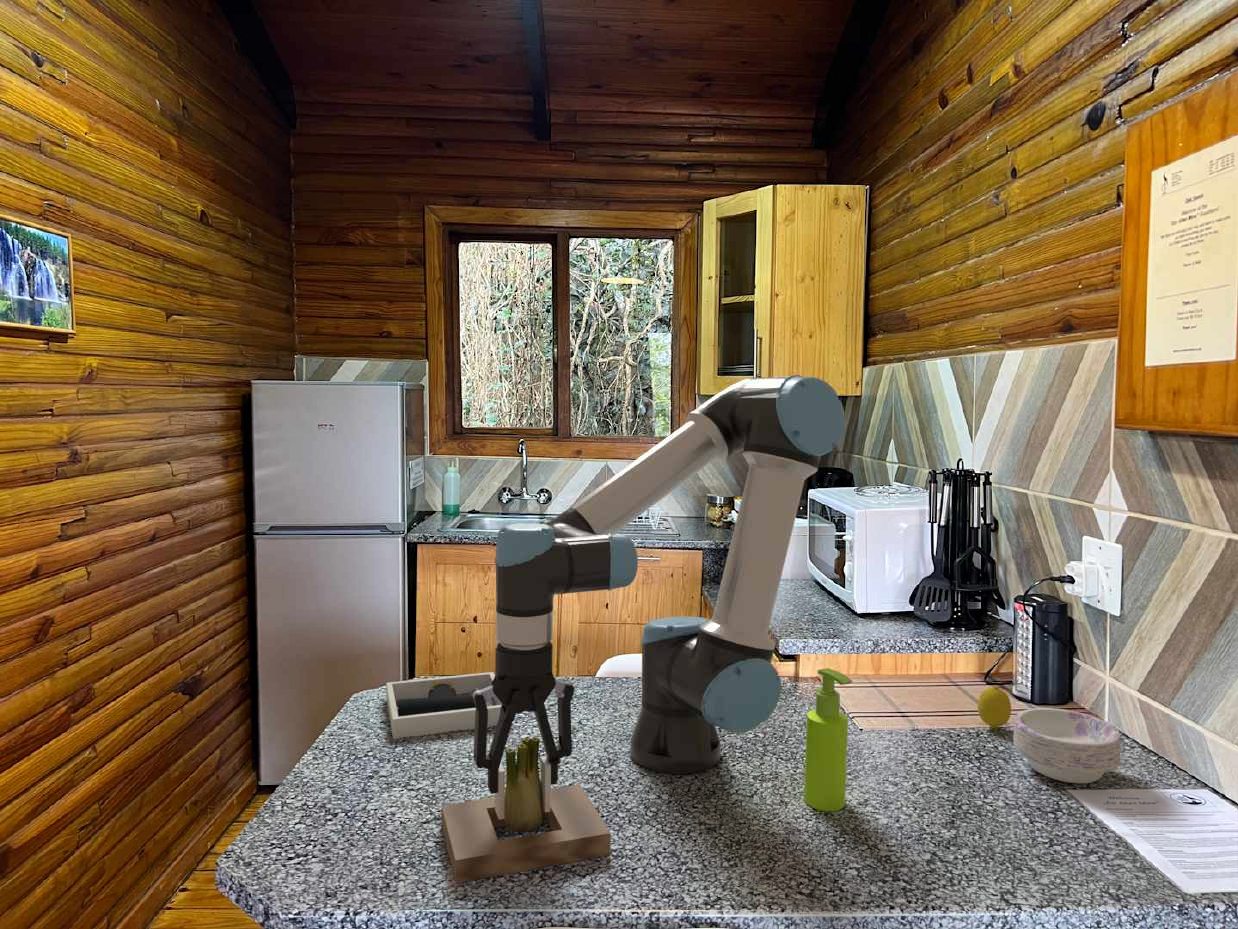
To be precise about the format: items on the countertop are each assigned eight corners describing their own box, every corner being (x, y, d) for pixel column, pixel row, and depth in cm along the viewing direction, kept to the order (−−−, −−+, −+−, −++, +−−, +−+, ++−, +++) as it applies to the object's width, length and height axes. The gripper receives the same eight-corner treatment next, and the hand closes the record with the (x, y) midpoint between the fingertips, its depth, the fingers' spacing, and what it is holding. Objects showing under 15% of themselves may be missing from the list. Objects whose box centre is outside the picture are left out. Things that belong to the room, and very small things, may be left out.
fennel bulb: (506, 841, 105) (507, 751, 104) (496, 822, 109) (497, 737, 108) (548, 832, 107) (549, 744, 106) (537, 814, 111) (538, 730, 110)
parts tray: (493, 688, 164) (493, 672, 164) (512, 724, 146) (512, 705, 146) (386, 700, 157) (386, 682, 157) (393, 739, 140) (392, 719, 139)
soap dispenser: (827, 818, 115) (832, 682, 113) (796, 797, 121) (800, 667, 119) (858, 809, 118) (863, 676, 116) (825, 788, 124) (830, 661, 122)
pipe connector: (402, 681, 154) (481, 677, 157) (402, 708, 154) (481, 703, 157) (397, 705, 142) (483, 700, 145) (397, 733, 143) (483, 728, 146)
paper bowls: (991, 759, 135) (993, 713, 134) (1054, 745, 141) (1057, 701, 140) (1074, 801, 121) (1077, 750, 120) (1140, 783, 127) (1144, 735, 126)
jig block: (579, 804, 118) (579, 784, 118) (610, 855, 105) (610, 833, 105) (441, 826, 111) (441, 805, 111) (455, 883, 98) (455, 860, 98)
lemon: (1009, 726, 149) (1011, 684, 148) (1010, 737, 144) (1012, 693, 143) (976, 720, 151) (979, 679, 150) (976, 731, 146) (978, 688, 145)
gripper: (583, 628, 113) (580, 788, 114) (449, 639, 106) (449, 807, 108) (599, 643, 105) (596, 813, 107) (457, 656, 99) (456, 836, 101)
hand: (522, 810), depth 108 cm, fingers closed on fennel bulb, 5 cm apart
